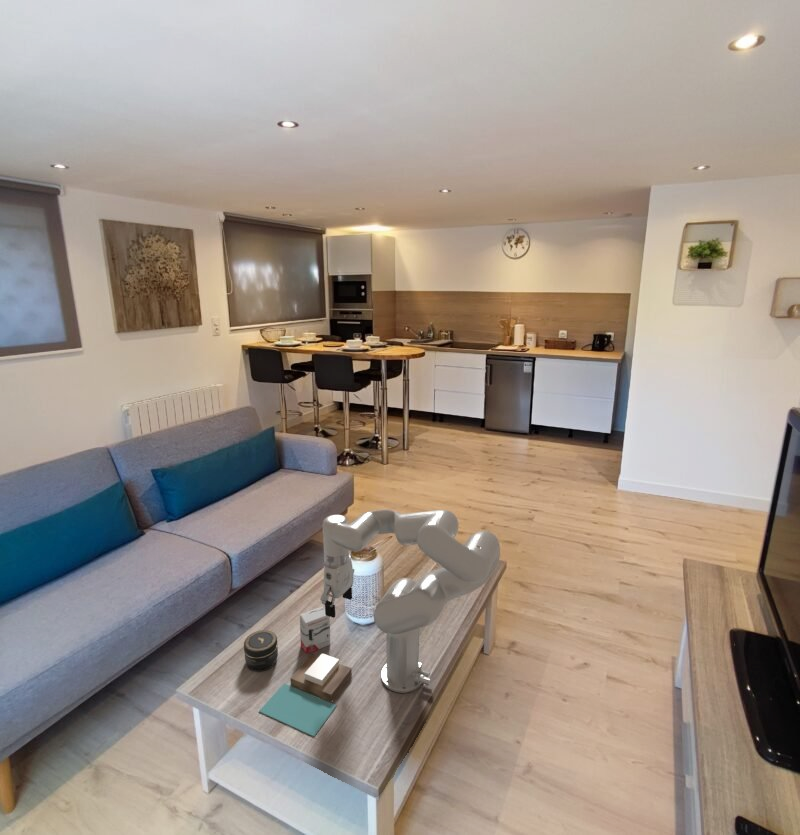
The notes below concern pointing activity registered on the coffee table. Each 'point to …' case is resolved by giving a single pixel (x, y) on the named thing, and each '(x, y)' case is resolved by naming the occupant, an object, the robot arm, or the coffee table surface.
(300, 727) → the mat
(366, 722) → the coffee table surface
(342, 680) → the brown flat block
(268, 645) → the jar
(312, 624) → the ink box
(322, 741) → the coffee table surface
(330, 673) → the white rubber eraser
